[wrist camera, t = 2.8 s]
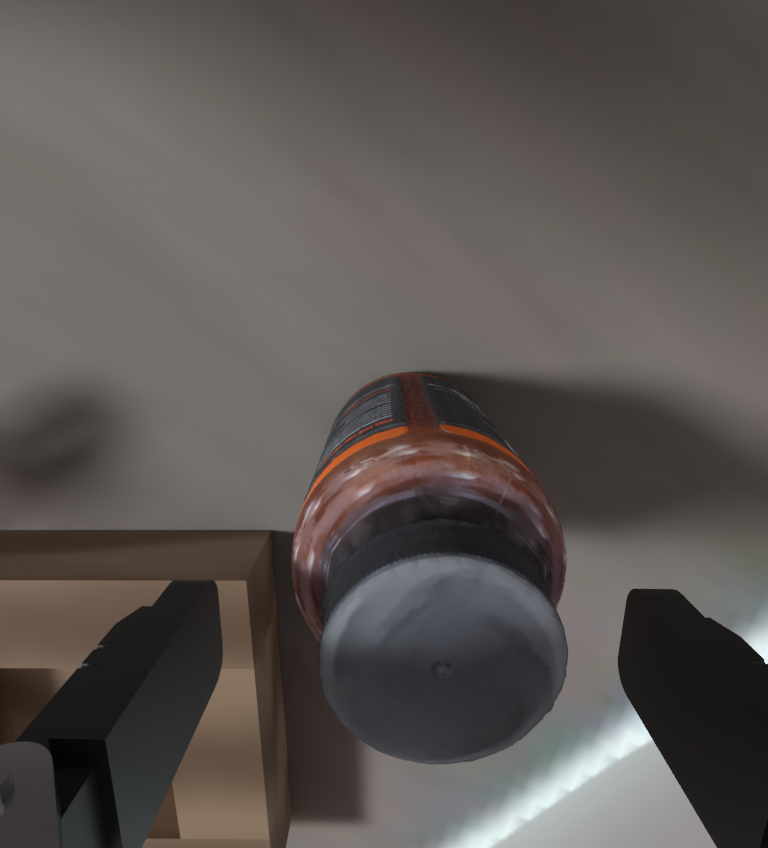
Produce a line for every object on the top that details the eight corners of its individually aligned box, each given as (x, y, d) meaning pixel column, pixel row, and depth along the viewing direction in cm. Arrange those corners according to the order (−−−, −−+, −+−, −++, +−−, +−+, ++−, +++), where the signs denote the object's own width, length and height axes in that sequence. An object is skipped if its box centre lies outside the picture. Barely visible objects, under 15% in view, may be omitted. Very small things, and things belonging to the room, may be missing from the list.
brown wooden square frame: (-100, 530, 20) (-202, 580, 16) (271, 530, 19) (246, 580, 16) (-18, 812, 23) (-86, 899, 20) (291, 814, 23) (275, 902, 20)
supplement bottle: (307, 483, 19) (195, 745, 8) (368, 342, 17) (332, 424, 6) (446, 540, 19) (519, 857, 8) (515, 408, 18) (712, 584, 7)
